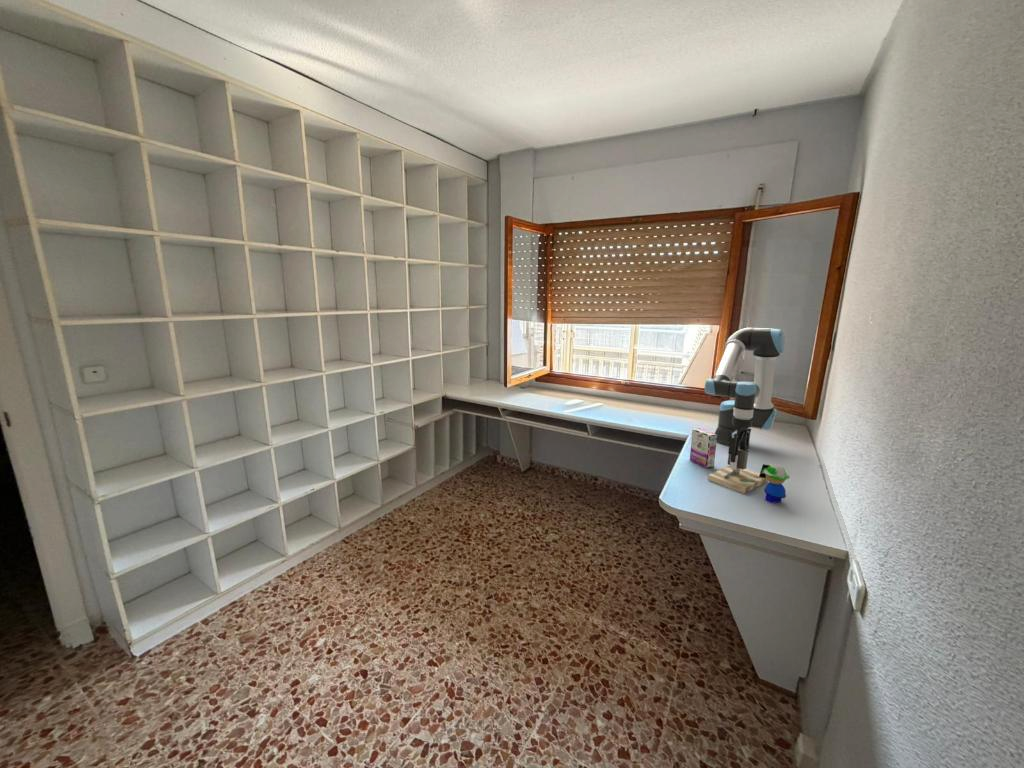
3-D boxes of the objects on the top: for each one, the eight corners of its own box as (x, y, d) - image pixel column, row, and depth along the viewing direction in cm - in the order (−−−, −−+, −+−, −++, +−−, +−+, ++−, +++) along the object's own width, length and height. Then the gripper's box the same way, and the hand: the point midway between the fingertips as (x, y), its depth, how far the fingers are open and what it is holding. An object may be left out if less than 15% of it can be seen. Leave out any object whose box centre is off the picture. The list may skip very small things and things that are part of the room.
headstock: (731, 469, 194) (732, 464, 194) (767, 481, 181) (768, 475, 181) (707, 479, 183) (708, 474, 183) (744, 493, 170) (745, 487, 170)
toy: (775, 494, 170) (780, 460, 167) (791, 505, 161) (796, 469, 158) (754, 494, 170) (759, 460, 167) (768, 505, 161) (773, 469, 157)
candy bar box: (714, 466, 197) (718, 434, 193) (706, 468, 195) (710, 435, 192) (696, 458, 207) (699, 427, 204) (689, 459, 205) (691, 428, 202)
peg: (730, 469, 188) (732, 446, 186) (745, 474, 182) (748, 451, 180) (716, 474, 182) (719, 451, 180) (732, 480, 176) (735, 456, 174)
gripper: (744, 411, 187) (738, 459, 192) (722, 418, 177) (717, 469, 182) (762, 415, 181) (755, 464, 186) (740, 423, 171) (734, 474, 176)
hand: (736, 466), depth 184 cm, fingers open, 6 cm apart
